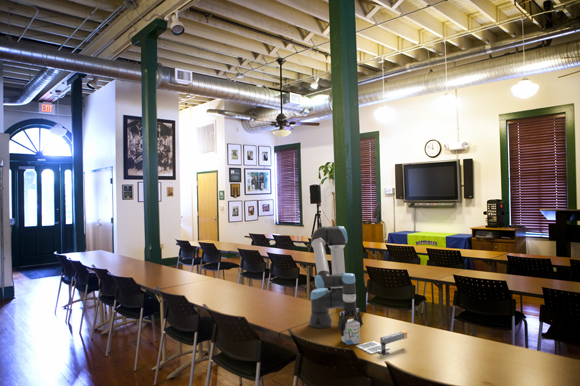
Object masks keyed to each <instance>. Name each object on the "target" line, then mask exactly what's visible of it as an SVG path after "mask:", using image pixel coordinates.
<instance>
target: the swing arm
mask: <svg viewBox="0 0 580 386" xmlns="http://www.w3.org/2000/svg"><path fill="white" fill-rule="evenodd" d="M379 339H380V340H379V341H380V342H379V344H381V345H388V344H391V343H395V342H397V341H400V340H407V339H408V332H407V331H406V330H401V331H399V332H395V333H392V334H390V335H389V334H388V335H385V336H382V337H381V336H380V338H379Z"/></svg>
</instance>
